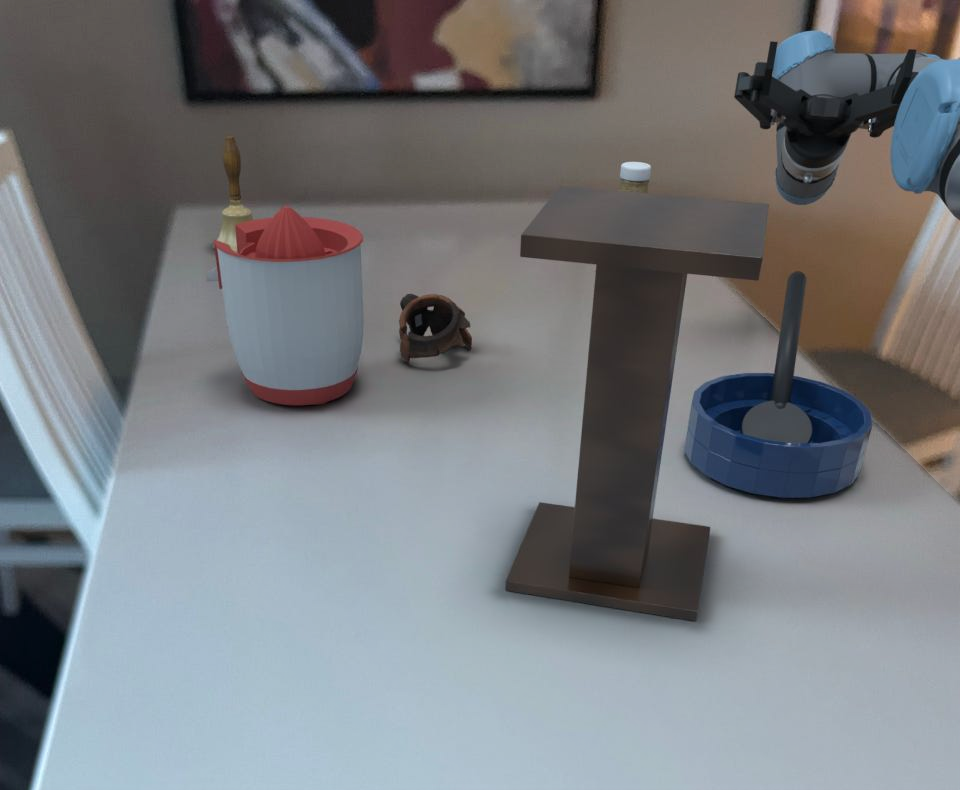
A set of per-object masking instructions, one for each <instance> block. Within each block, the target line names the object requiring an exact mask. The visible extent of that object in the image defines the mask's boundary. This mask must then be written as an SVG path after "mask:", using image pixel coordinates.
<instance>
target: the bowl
mask: <svg viewBox="0 0 960 790" xmlns="http://www.w3.org/2000/svg"><path fill="white" fill-rule="evenodd" d="M773 378H774V372H743V373H737V374H729V375H722V376H719V377H716V378H714V379H711V380H708V381H705V382H704V383H702V384H701V385H700V386H699V387H698V388H696V389H695V390H694V391H693V395H692V400H691V405H690V411H689V417H688V423H687V431H686V437H685V443H684V449H683V450H684V452H685V454H686V457H687V459H688V461H689V463H690V464H691V465H692V466H694V467H695V468H696V469H697V470H699V472H700V473H702V474H703V475H704V476H706V477H708V478H710V479H712V480H714V481H716V482H718V483H720V484H722V485H724V486H726V487H730V488H733V489H736V490H740V491H743V492H747V493H750V494H753V495H761V496H766V497H767V496H768V497H776V498H784V499H786V498H787V499H789V498H796V499H797V498H814V497H815V498H816V497H821V496H824V495H830V494H835V493H837V492H839V491H841V490H843V489H845V488H847V487H849V486H850V485H852V484H854V481H856V479H857V478H858V476H859V475H860V474H861V473H860V472H861V469H862V467H863V466H862V465H863V462H864V458H865V455H866V451H867V447H868V444H869V440H870V437H871V432H872V428H873V426H874V425H873V415H872V411H870V410H869V408H868V407H867V406H866V405H865V404H864V402H863V401H862V400H860V399H858V397H855V396H854V395H852V394H850V393H848V392H847V391H845V390H844V389H841V388H838V387H835V386H834V385H831V384H828V383H825V382H822V381H818V380H815V379H811V378H806V377H802V376H797V375H794V377H793V384H792V391H791V399H790V403H791V404H794V405H796V406H798V407H799V408H801V409H802V410H803V411H804V412H805V413H806V414H807V416H808V417H809V419H810V421H811V424H812V436H811V440H810V443H785V442H778V441H770V440H764V439H760V438H756V437H753V436H749V435H745V434H741V433H740V431H741V426H742V422H743V419H744V417H745V415H746V413H747V412H748V411H749V410H750V409H751V408H753V407H754V406H756V405H758V404H760V403H763V402H767V401H770V399H771V392H772V385H773Z"/></svg>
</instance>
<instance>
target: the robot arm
mask: <svg viewBox="0 0 960 790" xmlns="http://www.w3.org/2000/svg"><path fill="white" fill-rule="evenodd" d="M833 42H834V40H833V37H832V36H831V34H829V33H827V32H823V31H822V30H806V31H802V32H799V33H795V34H793V35H791V36H789V37H787V38H786V39H784V40H783V41H782V42H781V43H780V44H779V43H778V41H773V40H772V41H769V46H768V53H767V59H766V62H764V61H757V62H756V63H755V66H754V72H753V74H752V75H751V74H749V73H748V72H746V71H740V72H738V74H737V78H736V83H735V90H734V96H733V98H734V99H735V100H736V101H737V102H738V103H739V104H740V105H741V106H742V107H743V108H744V109H745V110H747V111H748V112H749V113H750V114H751V115H752V116H753V117H754V118H755V119H756V120H757V121H758V122H759V128H760V129H761V130H769V129H771V127H772V126H774V125H775V124H776V127H775V131H776V135H775V141H776V143H775V144H776V162H777V164H776V165H777V166H776V168H775V172H774V175H775V184H776V189H777V191H778V193H779V195H780V196H781V197H782V198H783V199H784V200H785V201H786V202H788V203H790V204H793V205H797V206H807V205H810V204H813V203H816V202H817V201H819V200H820V199H821V198H822V197H824V196H825V195H826V194H827V192H828V190H829V189H831V187H832V186H833V184H834V182H835V180H836V177H837V172H838V169H839V166H840V163H841V161H842V159H843V156H844V154H845V151H846V148H847V146H848V144H849V141H850V138H851V137H852V134H853V133H855V132H857V131H858V130H859V129H861V130H867V133H869V137H870V138H874V139H877V138H880V137H881V136H882V135H883V133H884V132H885V131H887V130H889V129H891V128H892V135H891V144H890V168H891V173H892V176H893V179H894V181H895V184H896V185H897V186H898V187H899V188H900V189H902V190H903V191H906V192H913V193H914V194H918V195H919V194H922V193H924V192H931V193H934V194H936V195H937V196H938V197H939V198H940V200H941V201H942V202H943V204H944V205H945V206H946V208H947V209H948V211H949V212H950V213H951V214H952V216H953V217H954V218H955V219H957V220H959V221H960V56H959V57H958V58H951V59H945V58H941V57H940V56H938V55H936V54H930V53H929V54H928V53H924V52H917V49H912V48H909V49H907V52H906V53H862V52H861V53H858V52H857V53H855V52H853V53H851V52H850V53H848V52H847V53H845V52H844V53H837V52H836V53H835V51H836V47H835V46H834V43H833ZM778 44H779V45H778Z"/></svg>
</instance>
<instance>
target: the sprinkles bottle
mask: <svg viewBox="0 0 960 790" xmlns="http://www.w3.org/2000/svg"><path fill="white" fill-rule="evenodd" d="M651 175H652V165H651V164H649V163H646V162H641V161H626V162H623V163H621V165H620V172H619V177H620V178H619V181H620V182H619V183H620V184H619V191H625V192H636V193H648V189H649V182H650V180H651Z"/></svg>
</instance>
